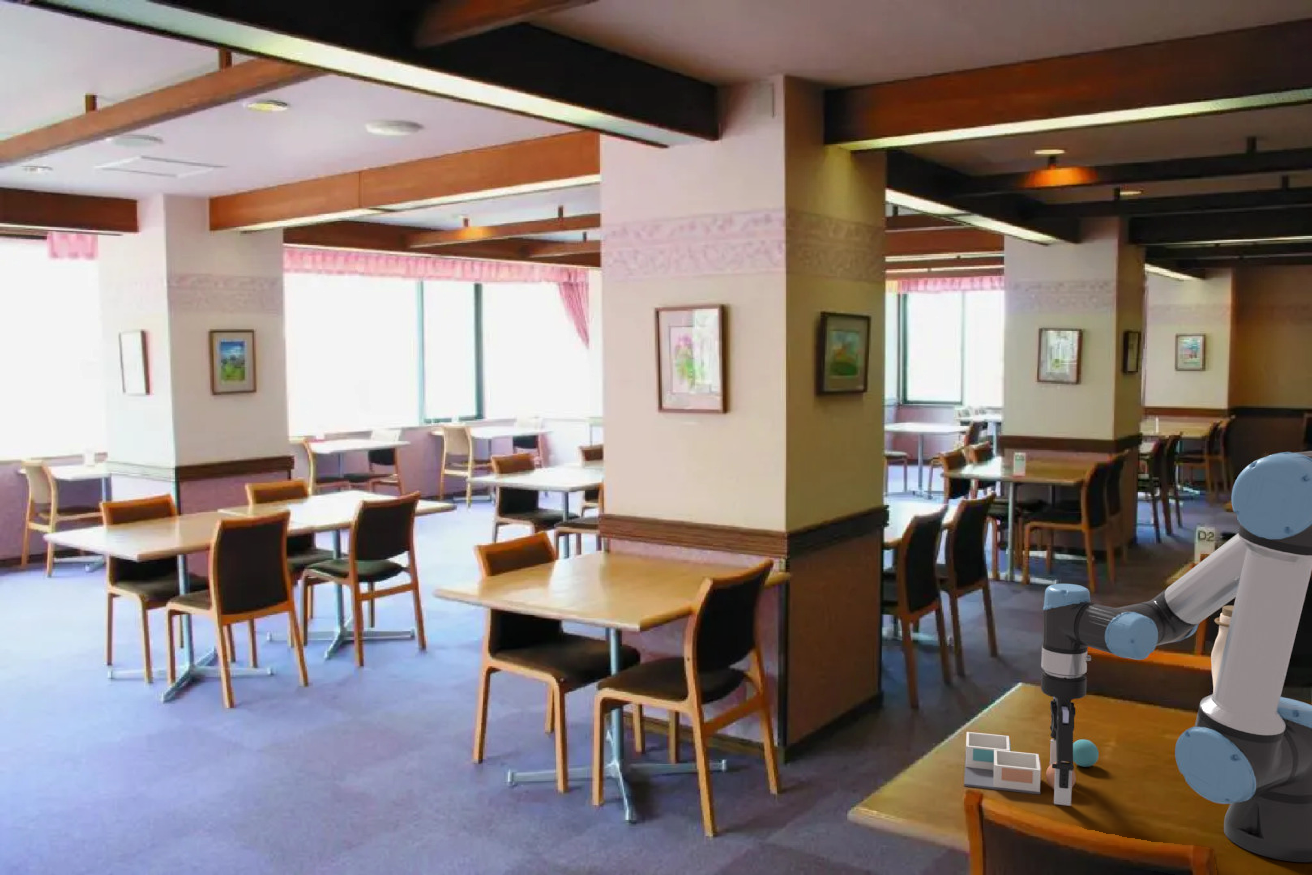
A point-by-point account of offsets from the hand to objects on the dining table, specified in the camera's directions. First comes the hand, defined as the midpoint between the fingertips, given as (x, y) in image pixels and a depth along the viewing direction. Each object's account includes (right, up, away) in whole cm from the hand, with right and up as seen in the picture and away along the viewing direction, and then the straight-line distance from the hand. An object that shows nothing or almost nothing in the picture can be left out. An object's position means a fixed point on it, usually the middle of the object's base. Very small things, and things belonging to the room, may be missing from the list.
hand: (1059, 789), depth 194 cm
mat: (-8, 0, +8) cm, 11 cm away
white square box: (-7, 0, +3) cm, 7 cm away
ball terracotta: (0, +2, 0) cm, 2 cm away
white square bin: (-9, +1, +12) cm, 15 cm away
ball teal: (+9, +3, +11) cm, 14 cm away
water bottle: (+42, +1, +20) cm, 46 cm away
